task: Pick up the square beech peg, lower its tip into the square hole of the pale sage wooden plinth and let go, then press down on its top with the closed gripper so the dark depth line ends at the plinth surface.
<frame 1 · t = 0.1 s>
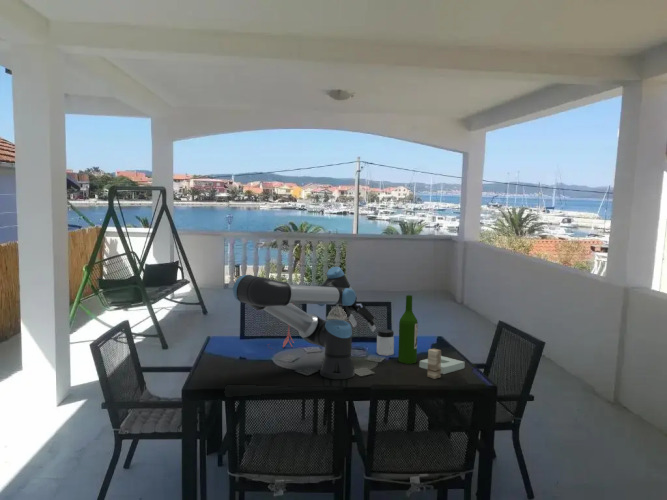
hand: (364, 327, 243), 15 cm above the table, tool tilted 35°, fingers open, 13 cm apart
wine bottle: (407, 361, 239), on the table
figurine: (280, 345, 267), on the table
jar: (385, 354, 254), on the table
peg: (433, 376, 215), on the table
plinth: (441, 367, 230), on the table
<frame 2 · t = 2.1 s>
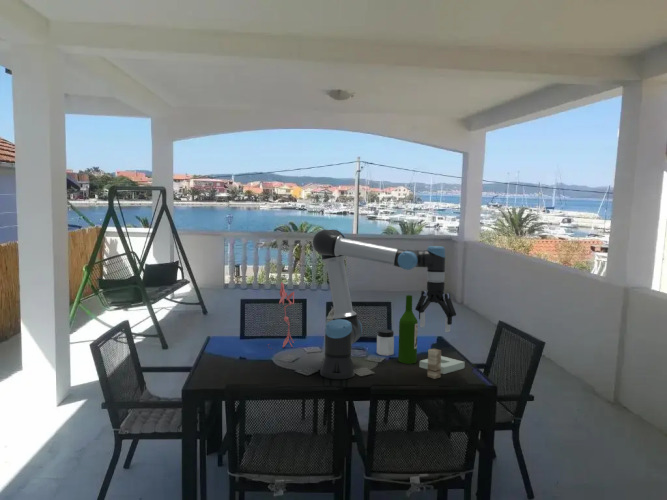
hand: (434, 329, 214), 21 cm above the table, tool pointing down, fingers open, 13 cm apart
nothing on the table moved.
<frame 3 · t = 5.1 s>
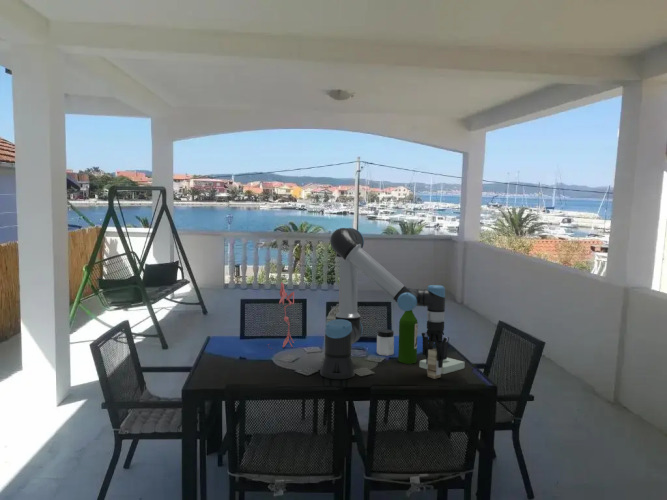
hand: (434, 373, 215), 2 cm above the table, tool pointing down, fingers closed on peg, 4 cm apart
peg: (433, 376, 215), on the table, touching gripper
everything else where it was.
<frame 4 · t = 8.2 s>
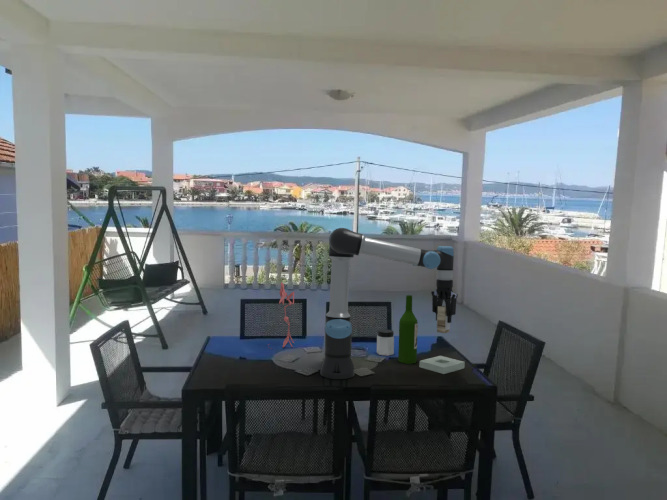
hand: (443, 328, 229), 19 cm above the table, tool pointing down, fingers closed on peg, 4 cm apart
peg: (443, 332, 229), point 17 cm above the table, touching gripper
everything else where it was.
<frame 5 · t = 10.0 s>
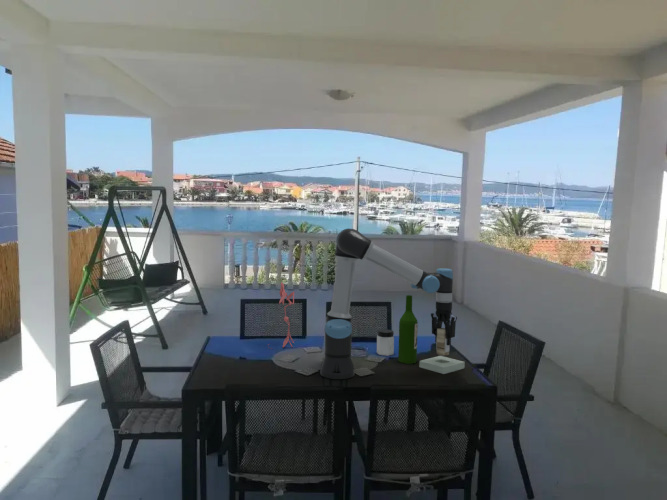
hand: (442, 350, 229), 8 cm above the table, tool pointing down, fingers closed on peg, 4 cm apart
peg: (442, 354, 230), point 6 cm above the table, touching gripper
everything else where it was.
when the fingers open (4 cm above the table, at t = 11.5 s): peg drops 2 cm, resting in plinth.
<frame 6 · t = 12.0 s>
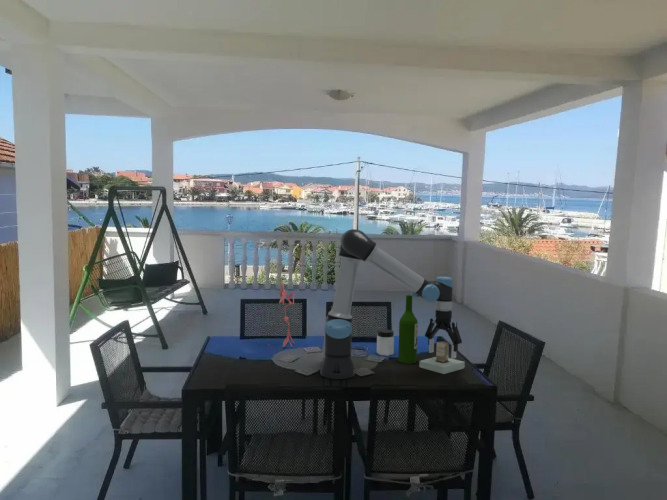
hand: (442, 355, 230), 6 cm above the table, tool pointing down, fingers open, 12 cm apart
peg: (441, 367, 230), resting in plinth
everything else where it was.
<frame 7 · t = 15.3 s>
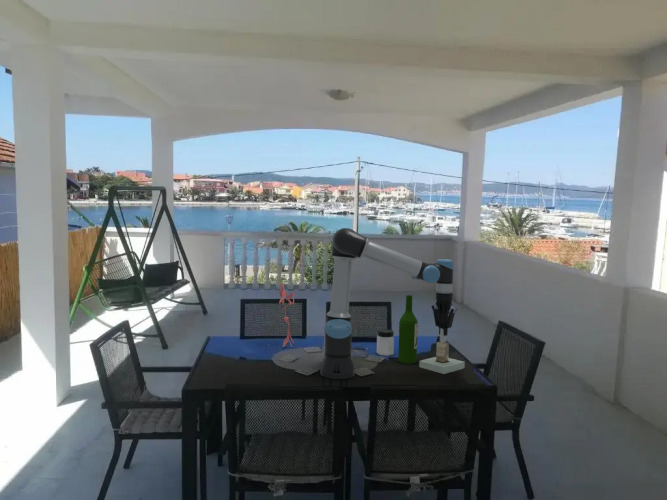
hand: (442, 342, 229), 12 cm above the table, tool pointing down, fingers closed
peg: (441, 367, 230), resting in plinth, touching gripper
everything else where it was.
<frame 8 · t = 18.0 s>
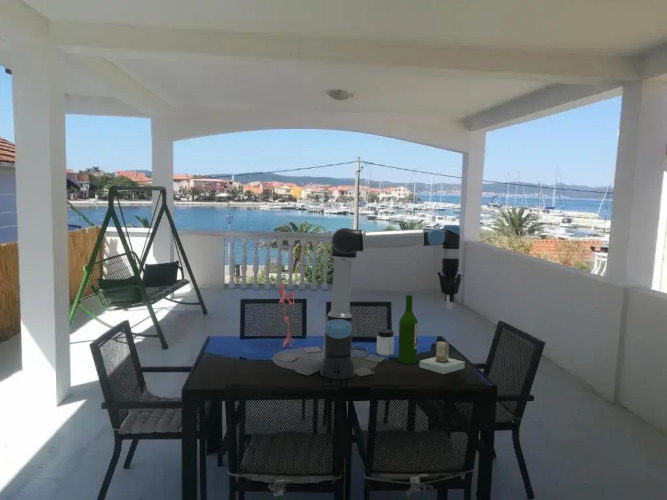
hand: (449, 308, 226), 28 cm above the table, tool pointing down, fingers closed
peg: (441, 367, 230), resting in plinth
everything else where it was.
at the end: peg 0.0 cm off-centre on the plinth, point 0.0 cm above the plinth's base; peg tilted 0°; the gripper is holding nothing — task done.
